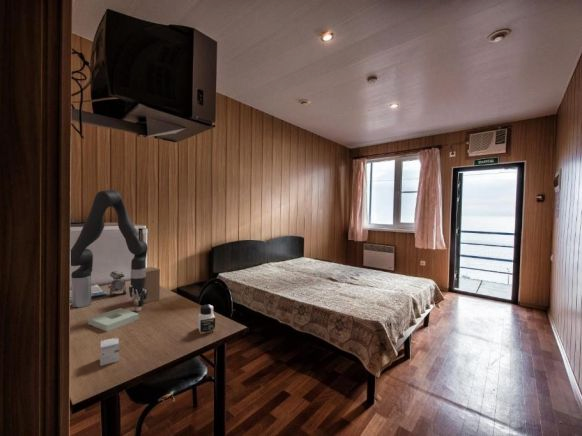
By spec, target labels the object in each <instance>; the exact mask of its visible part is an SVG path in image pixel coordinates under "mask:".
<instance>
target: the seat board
mask: <svg viewBox="0 0 582 436" xmlns="http://www.w3.org/2000/svg"><path fill="white" fill-rule="evenodd" d="M139 317H140V314H139V313H137V312H136V311H131V310H128V309H126V308H125V309H124V308H121V307H120V308H116V309H113V310H112V309H111V310H110V311H107V312H106V311H105V312H104V313H100V314H97V315H94V316H91V317H88V318H87V325H90V326H91V325H92V327H95V328H96V329H99V330H101V331H105V332H110V331H113V330H115V329H117V328H119V327H120V328H121V327H122V326H126V325H127V324H131V323H134V322H136V321H138V320H140V318H139Z"/></svg>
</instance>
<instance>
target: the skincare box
mask: <svg viewBox="0 0 582 436" xmlns="http://www.w3.org/2000/svg"><path fill="white" fill-rule="evenodd" d="M99 348H100V349H99V365H100V366H102V367H103V366H105V365H110V364H114V363H117V362H119V361H120V358H119V357H120V343H119V336H117V337H114V338H113V337H112V338H108V339H104V340H100V343H99Z"/></svg>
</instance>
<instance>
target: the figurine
mask: <svg viewBox="0 0 582 436" xmlns="http://www.w3.org/2000/svg"><path fill="white" fill-rule="evenodd" d="M109 277H111V278H112V279H113V280H112V281H111V284H110V285H109V284H107V286H108V289H109V296H110V297H113V296H114V294H113V293H114V292H120V291H121V292H122V293H123V295H127V287H126V285H127V284H126V279H122V278H124V277H125V275H124V274H123V271H121V272H120V271H117V270H114V271H112V272H110V273H109Z"/></svg>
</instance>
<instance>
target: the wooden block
mask: <svg viewBox="0 0 582 436" xmlns="http://www.w3.org/2000/svg"><path fill="white" fill-rule="evenodd" d="M145 270H146V283H145V284H144V289H145V290H148V292H147V297H146V299H144V300H143V305H145V304H149V303H151V302H155V301H159V300H160V294H161V293H160V289H161V286H160V284H161V283H160V281H161V280H160V279H161V271H160V270H161V269H160V268H156V267H155V266H154V267H153V266H149V267H145Z"/></svg>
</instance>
